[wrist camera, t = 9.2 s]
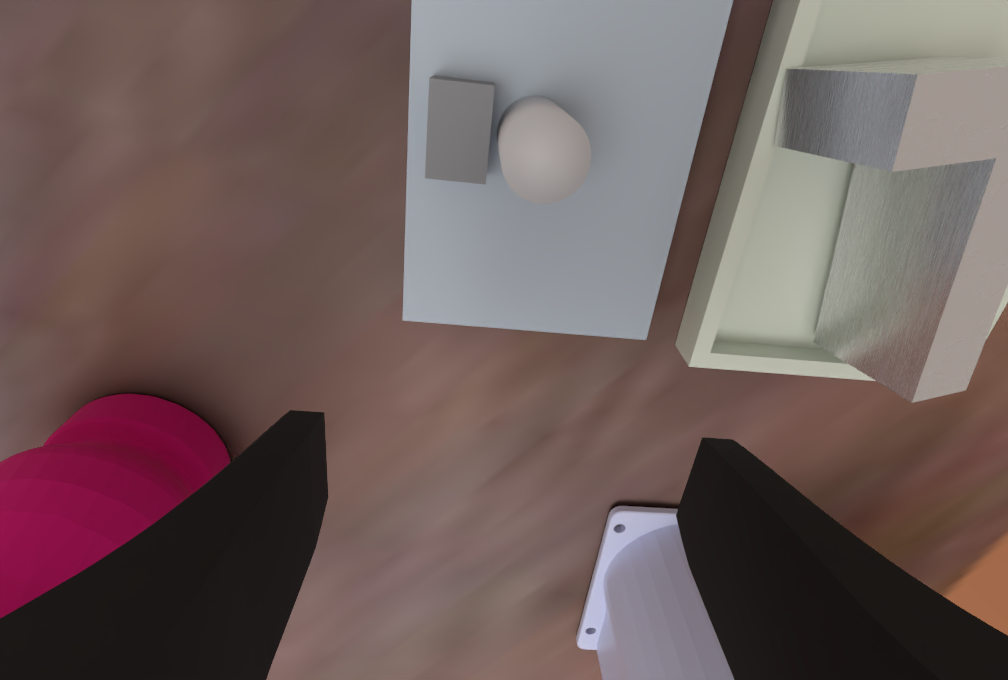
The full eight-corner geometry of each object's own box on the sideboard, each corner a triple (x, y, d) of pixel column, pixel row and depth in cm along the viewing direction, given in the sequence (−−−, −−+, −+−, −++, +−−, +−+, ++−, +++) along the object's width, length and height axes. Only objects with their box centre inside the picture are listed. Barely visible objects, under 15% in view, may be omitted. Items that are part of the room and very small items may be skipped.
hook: (860, 333, 21) (966, 390, 17) (739, 357, 19) (825, 422, 16) (936, 56, 16) (1096, 58, 13) (786, 68, 15) (918, 74, 12)
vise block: (631, 314, 20) (679, 399, 16) (409, 295, 20) (386, 378, 15) (728, -96, 15) (849, -161, 10) (424, -141, 14) (395, -235, 9)
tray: (928, 365, 22) (958, 387, 21) (674, 344, 21) (689, 366, 20) (1165, -82, 15) (1234, -94, 14) (812, -138, 15) (847, -157, 13)
